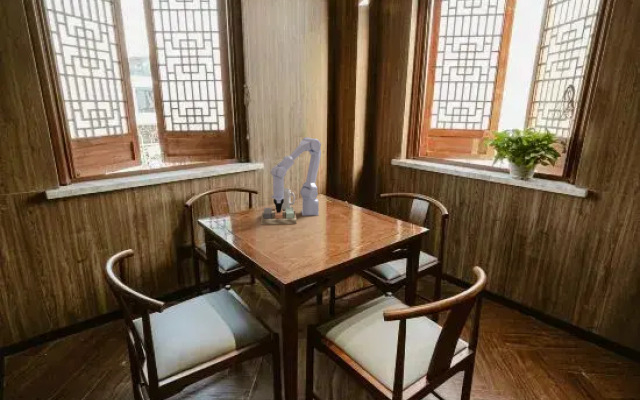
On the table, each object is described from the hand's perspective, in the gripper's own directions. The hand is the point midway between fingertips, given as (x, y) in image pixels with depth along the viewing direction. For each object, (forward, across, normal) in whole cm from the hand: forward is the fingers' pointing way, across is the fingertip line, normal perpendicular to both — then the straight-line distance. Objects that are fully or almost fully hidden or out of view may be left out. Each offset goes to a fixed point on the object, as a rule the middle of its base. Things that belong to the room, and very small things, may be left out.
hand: (278, 212), depth 193 cm
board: (+4, 0, 0) cm, 4 cm away
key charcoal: (+3, 0, -6) cm, 7 cm away
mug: (+4, -20, +6) cm, 21 cm away
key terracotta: (+4, 0, 0) cm, 4 cm away
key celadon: (+3, 0, +6) cm, 7 cm away
